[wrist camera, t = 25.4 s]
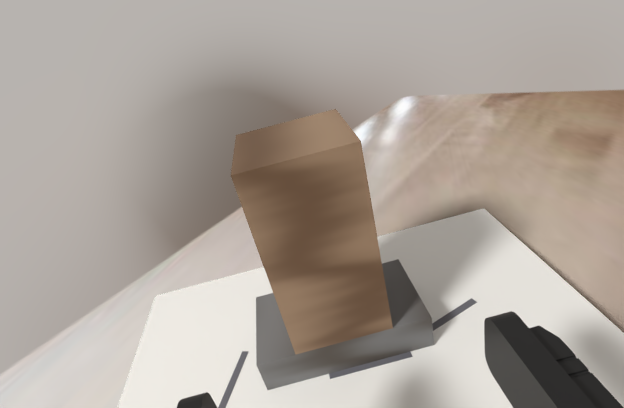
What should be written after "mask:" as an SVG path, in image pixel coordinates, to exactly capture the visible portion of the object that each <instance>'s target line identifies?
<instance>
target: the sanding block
mask: <svg viewBox="0 0 624 408" xmlns="http://www.w3.org/2000/svg"><path fill="white" fill-rule="evenodd" d="M231 177H232V180H233V183H234V186H235V188H236V191H237V194H238V196H239V199H240V202H241V205H242V208H243V211H244V213H245V216H246V219H247V222H248V224H249V227H250V230H251V233H252V235H253V238H254V241H255V244H256V247H257V249H258V252H259V255H260V258H261V260H262V263H263V266H264V269H265V271H266V274H267V277H268V280H269V282H270V285H271V288H272V291H273V293H271V294H267V295H263V296H260V297H256V365H257V368H258V370H259V372H260V374H261V377H262V379H263V381H264V383H265V386H266V388H267V390H271V389H275V388H278V387H282V386H286V385H289V384H293V383H297V382H300V381H304V380H308V379H311V378H315V377H319V376H322V375H326V374H330V373H333V372H337V371H341V370H344V369H348V368H352V367H355V366H359V365H363V364H366V363H370V362H374V361H377V360H381V359H385V358H388V357H392V356H396V355H399V354H403V353H407V352H410V351H414V350H418V349H421V348H425V347H429V346H432V345H434V336H433V326H432V317H431V316H430V314H429V312H428V310H427V309H426V307H425V305H424V303H423V302H422V300H421V298H420V296H419V295H418V293H417V291H416V289H415V287H414V286H413V284H412V282H411V280H410V279H409V277H408V275H407V273H406V272H405V270H404V268H403V266H402V265H401V263H400V261H399V259H397V260H393V261H390V262H386V263H382V262H381V256H380V250H379V245H378V239H377V233H376V227H375V221H374V216H373V210H372V204H371V198H370V192H369V187H368V181H367V175H366V169H365V163H364V158H363V152H362V146H361V141H360V140H359V138H358V137H357V136H356V134H355V133H354V132H353V131H352V129H351V128H350V127H349V126H348V124H347V123H346V122H345V120H344V119H343V118H342V117H341V115H340V114H339V113H338V111H337V110H336V109H334V110H330V111H326V112H322V113H318V114H315V115H311V116H307V117H303V118H300V119H296V120H292V121H288V122H284V123H280V124H277V125H273V126H269V127H265V128H261V129H258V130H254V131H250V132H247V133H243V134H239V135H236V140H235V148H234V155H233V163H232V170H231Z"/></svg>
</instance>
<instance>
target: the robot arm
mask: <svg viewBox="0 0 624 408" xmlns="http://www.w3.org/2000/svg"><path fill="white" fill-rule="evenodd" d="M484 342H485V358H486V362H487V364H488V367H489V369H490V371H491V373H492V375H493V377H494V378H495V380H496V382H497V383H498V385H499V386H500V388H501V389H502V391H503V392H504V394H505V396H506V397H507V399H508V400H509V402H510V403H511V405H512V406H513V408H624V407H623V406H622V405H621V404H620V403H619V402H618V401H617V400H616V399H615V398H614V397H613V395H612V394H611V393H610V392H609V391H608V390H607V389H606V388H605V387H604V386H603V385H602V383H601V382H600V381H599V380H598V379H597V378H596V377H595V376H594V375H593V374H592V373H590V372H589V370H588V368H587V367H586V366H585V365H584V364H583V363H582V362H581V360H580V359H579V358H576V356H575V354H574V353H573V352H572V351H571V350H570V348H569V347H568V346H567V345H566V344H565V343H564V342H563V341H562V340H561V339H560V338H559V337H557V336H556V335H554V334H553V333H551V332H549V331H548V330H546V329H544V328H543V327H541V326H535V327H532V328H528V326H527V325H526V324H525V323H524V322H523V321H522V319H521V318H520V317H519V316H518V315H517V314H516V313H515V312H512V311H510V312H507V313H503V314H499V315H495V316H492V317H488V318H485V321H484ZM177 408H217V406H216V404H215V402H214V401H213V399H212V397H211V395H210V394H209V393H208V392H206V393H202V394H198V395H195V396H191V397H187V398H184V399H181V400H180V401H179V402H178V405H177Z"/></svg>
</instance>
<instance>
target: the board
mask: <svg viewBox="0 0 624 408" xmlns="http://www.w3.org/2000/svg"><path fill="white" fill-rule="evenodd" d="M377 239H378V245H379V250H380V256H381V262H382V263H386V262H390V261H393V260H397V259H399V261H400V263H401V265H402V266H403V268H404V270H405V272H406V273H407V275H408V277H409V279H410V280H411V282H412V284H413V286H414V287H415V289H416V291H417V293H418V295H419V296H420V298H421V300H422V302H423V303H424V305H425V307H426V309H427V310H428V312H429V314H430V316H431V317H432V326H433V336H434V345H432V346H429V347H425V348H421V349H418V350H414V351H410V352H407V353H403V354H399V355H396V356H392V357H388V358H385V359H381V360H377V361H374V362H370V363H366V364H363V365H359V366H355V367H352V368H348V369H344V370H341V371H337V372H333V373H330V374H326V375H322V376H319V377H315V378H311V379H308V380H304V381H300V382H297V383H293V384H289V385H286V386H282V387H278V388H275V389H271V390H267V388H266V386H265V383H264V381H263V379H262V377H261V374H260V372H259V370H258V368H257V365H256V297H260V296H263V295H267V294H271V293H273V291H272V288H271V285H270V282H269V280H268V277H267V274H266V271H265V269H264V267H261V268H258V269H254V270H250V271H246V272H242V273H239V274H235V275H231V276H227V277H224V278H220V279H216V280H212V281H209V282H205V283H201V284H197V285H194V286H190V287H186V288H182V289H179V290H175V291H171V292H167V293H164V294H160V295H156V296H155V299H154V302H153V305H152V307H151V310H150V313H149V316H148V319H147V322H146V325H145V328H144V331H143V334H142V337H141V340H140V343H139V345H138V348H137V351H136V354H135V357H134V360H133V363H132V366H131V369H130V372H129V375H128V378H127V381H126V384H125V386H124V389H123V392H122V395H121V398H120V401H119V404H118V407H117V408H177V405H178V402H179V401H180V400H181V399H184V398H187V397H191V396H195V395H198V394H202V393H206V392H208V393H209V394H210V395H211V397H212V399H213V401H214V402H215V404H216V406H217V408H513V406H512V405H511V403H510V402H509V400H508V399H507V397H506V396H505V394H504V392H503V391H502V389H501V388H500V386H499V385H498V383H497V382H496V380H495V378H494V377H493V375H492V373H491V371H490V369H489V367H488V364H487V362H486V358H485V342H484V321H485V318H488V317H492V316H495V315H499V314H503V313H507V312H510V311H512V312H515V313H516V314H517V315H518V316H519V317H520V318H521V319H522V321H523V322H524V323H525V324H526V325H527V326H528V328H532V327H535V326H541V327H543V328H544V329H546V330H548V331H549V332H551V333H553V334H554V335H556V336H557V337H559V338H560V339H561V340H562V341H563V342H564V343H565V344H566V345H567V346H568V347H569V348H570V350H571V351H572V352H573V353H574V354H575V356H576V358H579V359H580V360H581V362H582V363H583V364H584V365H585V366H586V367H587V368H588V370H589V372H590V373H592V374H593V375H594V376H595V377H596V378H597V379H598V380H599V381H600V382H601V383H602V385H603V386H604V387H605V388H606V389H607V390H608V391H609V392H610V393H611V394H612V395H613V397H614V398H615V399H616V400H617V401H618V402H619V403H620V404H621V405H622V406H623V407H624V333H623V332H622V331H621V330H620V329H619V328H618V327H617V326H616V325H614V324H613V323H612V322H611V321H610V320H609V319H608V318H607V317H605V316H604V315H603V314H602V313H601V312H600V311H599V310H598V309H596V308H595V307H594V306H593V305H592V304H591V303H590V302H589V301H587V300H586V299H585V298H584V297H583V296H582V295H581V294H580V293H578V292H577V291H576V290H575V289H574V288H573V287H572V286H571V285H569V284H568V283H567V282H566V281H565V280H564V279H563V278H562V277H561V276H559V275H558V274H557V273H556V272H555V271H554V270H553V269H552V268H550V267H549V266H548V265H547V264H546V263H545V262H544V261H543V260H541V259H540V258H539V257H538V256H537V255H536V254H535V253H534V252H532V251H531V250H530V249H529V248H528V247H527V246H526V245H525V244H523V243H522V242H521V241H520V240H519V239H518V238H517V237H516V236H514V235H513V234H512V233H511V232H510V231H509V230H508V229H507V228H505V227H504V226H503V225H502V224H501V223H500V222H499V221H498V220H497V219H495V218H494V217H493V216H492V215H491V214H490V213H489V212H488V211H486V210H485V209H484V208H483V209H479V210H475V211H472V212H468V213H464V214H460V215H457V216H453V217H449V218H445V219H442V220H438V221H434V222H430V223H427V224H423V225H419V226H415V227H412V228H408V229H404V230H400V231H397V232H393V233H389V234H385V235H381V236H378V237H377Z"/></svg>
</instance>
